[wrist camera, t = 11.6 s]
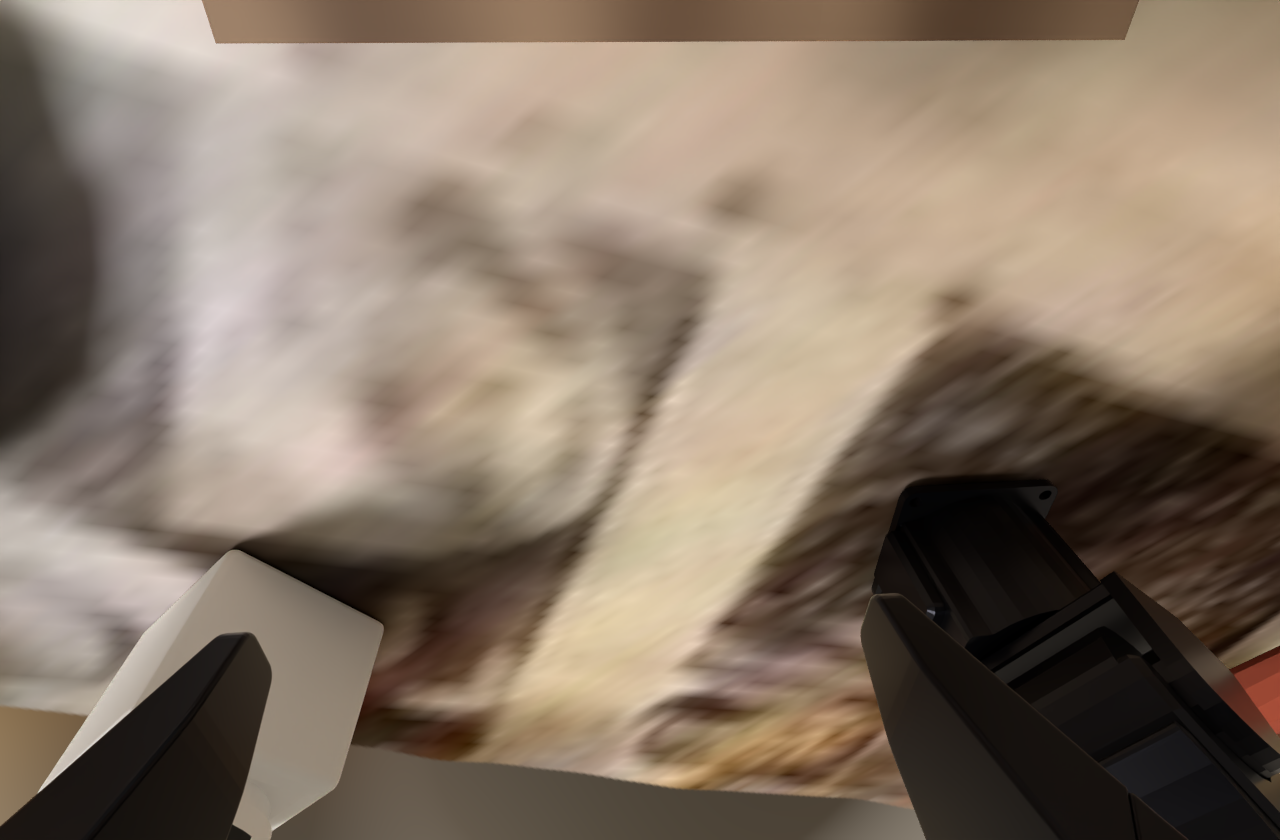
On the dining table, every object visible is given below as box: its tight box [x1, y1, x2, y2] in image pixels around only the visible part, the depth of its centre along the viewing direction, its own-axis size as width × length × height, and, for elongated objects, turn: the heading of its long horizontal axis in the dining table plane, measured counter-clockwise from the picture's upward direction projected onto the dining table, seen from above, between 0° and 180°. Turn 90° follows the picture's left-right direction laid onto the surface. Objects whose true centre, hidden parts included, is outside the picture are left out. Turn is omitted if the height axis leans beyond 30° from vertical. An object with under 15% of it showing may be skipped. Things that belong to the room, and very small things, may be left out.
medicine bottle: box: [37, 550, 384, 840], centre depth 23 cm, size 7×7×12 cm
